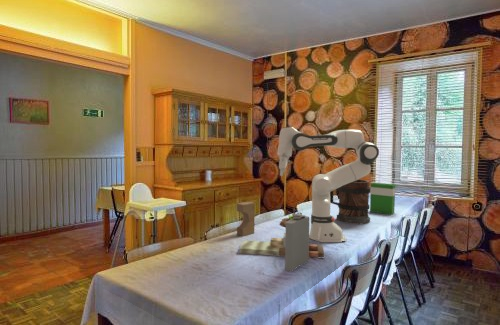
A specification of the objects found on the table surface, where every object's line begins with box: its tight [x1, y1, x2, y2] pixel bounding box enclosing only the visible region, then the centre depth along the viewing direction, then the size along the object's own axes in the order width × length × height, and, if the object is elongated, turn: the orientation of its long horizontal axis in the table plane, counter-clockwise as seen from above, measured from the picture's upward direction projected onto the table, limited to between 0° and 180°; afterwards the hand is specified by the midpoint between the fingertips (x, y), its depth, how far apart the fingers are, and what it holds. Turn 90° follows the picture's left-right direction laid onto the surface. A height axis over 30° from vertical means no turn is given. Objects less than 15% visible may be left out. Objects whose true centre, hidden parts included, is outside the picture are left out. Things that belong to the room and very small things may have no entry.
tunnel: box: [283, 232, 286, 249], centre depth 177 cm, size 8×8×6 cm
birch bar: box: [269, 237, 283, 248], centre depth 177 cm, size 16×4×4 cm, turn 81°
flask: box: [284, 213, 310, 272], centre depth 157 cm, size 17×5×25 cm, turn 140°
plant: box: [280, 208, 303, 228], centre depth 237 cm, size 20×20×11 cm
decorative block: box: [236, 201, 256, 237], centre depth 210 cm, size 11×6×20 cm, turn 134°
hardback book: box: [369, 182, 396, 215], centre depth 276 cm, size 18×7×24 cm, turn 52°
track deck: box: [239, 240, 325, 258], centre depth 178 cm, size 44×14×2 cm, turn 81°
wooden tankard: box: [330, 179, 371, 225], centre depth 249 cm, size 24×30×30 cm
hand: (281, 175), depth 203 cm, fingers open, 8 cm apart
